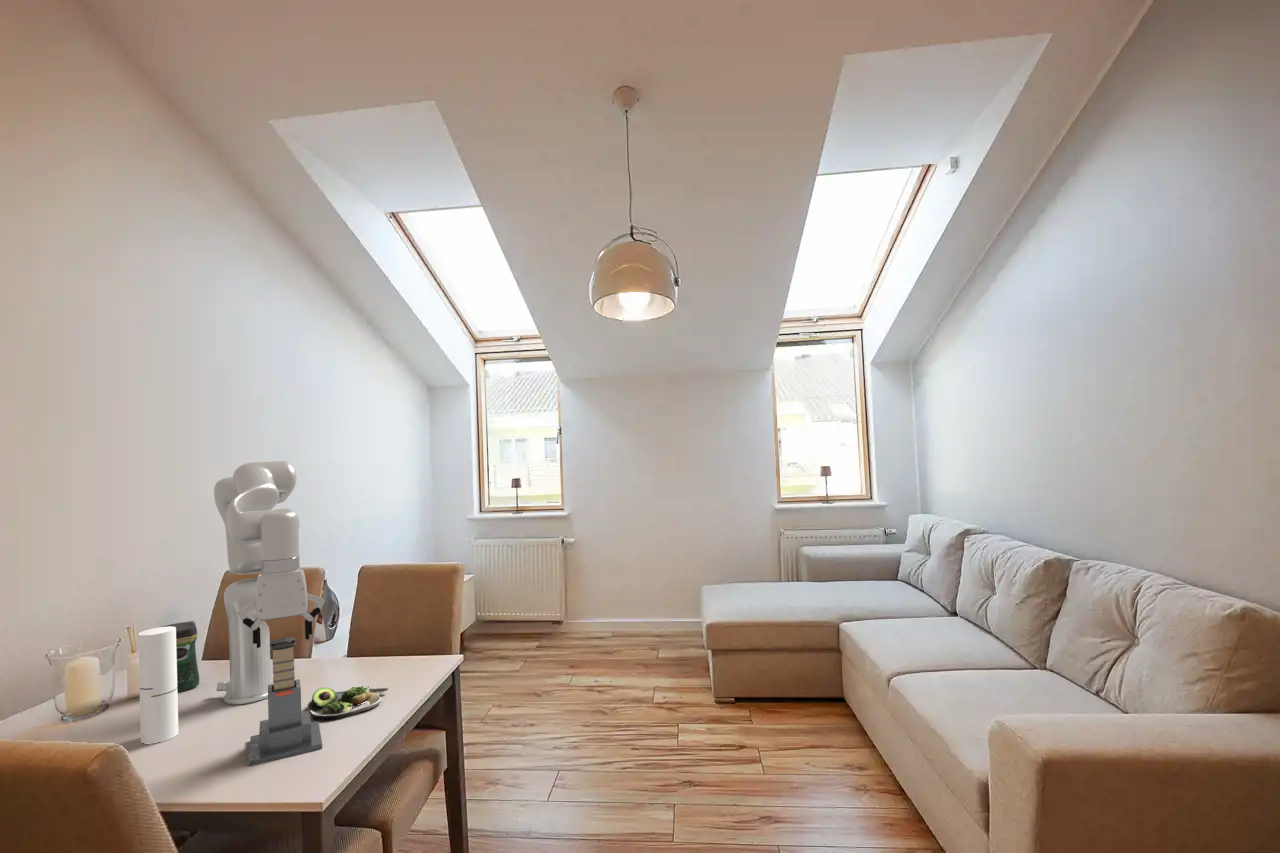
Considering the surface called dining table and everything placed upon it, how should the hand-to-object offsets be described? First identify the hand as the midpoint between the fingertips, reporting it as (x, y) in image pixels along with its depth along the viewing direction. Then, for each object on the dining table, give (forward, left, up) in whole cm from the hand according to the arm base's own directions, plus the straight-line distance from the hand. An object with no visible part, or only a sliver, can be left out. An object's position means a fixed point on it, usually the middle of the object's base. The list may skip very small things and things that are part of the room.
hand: (283, 642), depth 147 cm
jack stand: (0, 0, -23) cm, 23 cm away
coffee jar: (-50, +41, -23) cm, 69 cm away
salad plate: (+4, +21, -24) cm, 32 cm away
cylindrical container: (-33, +8, -23) cm, 41 cm away
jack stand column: (0, 0, -22) cm, 22 cm away
